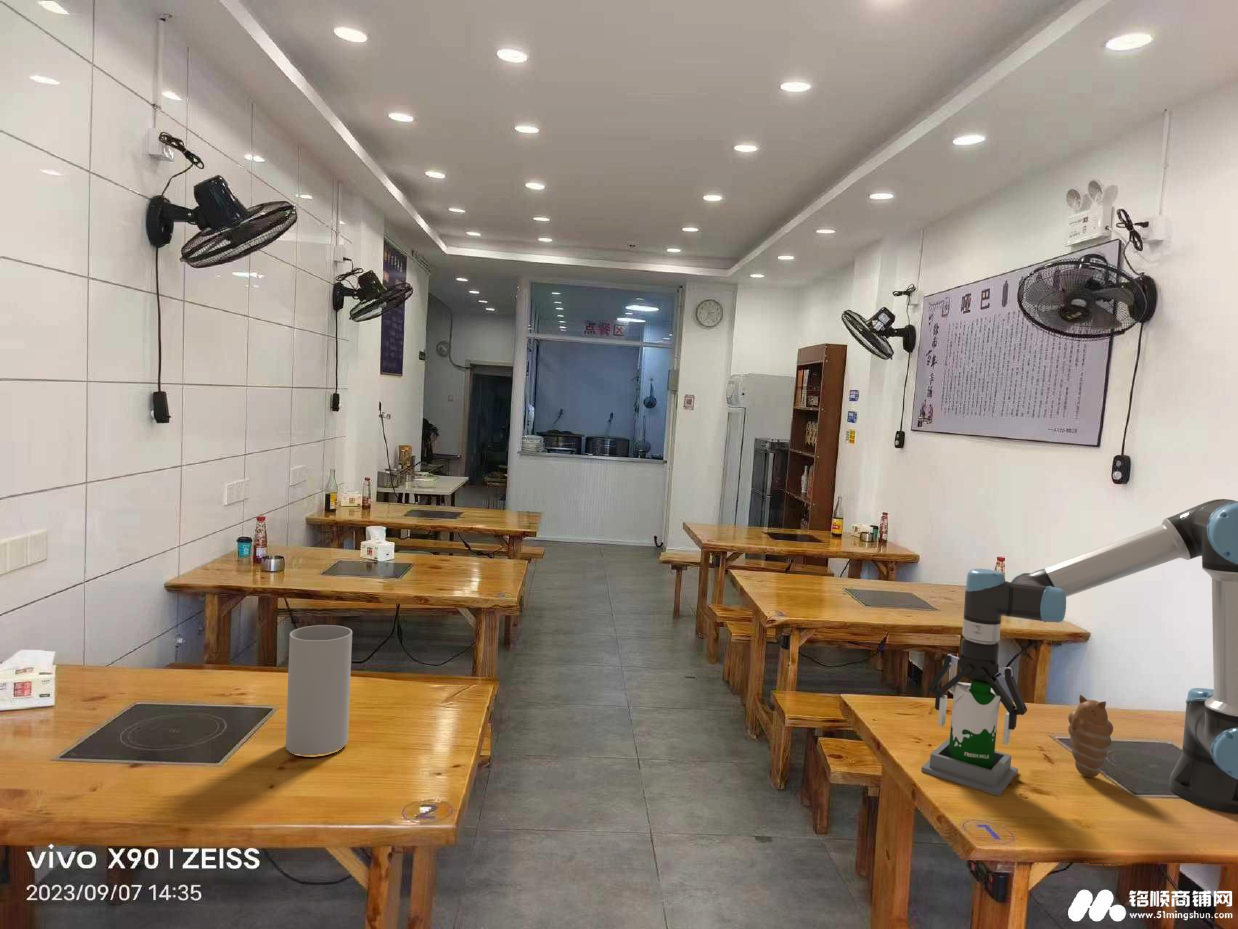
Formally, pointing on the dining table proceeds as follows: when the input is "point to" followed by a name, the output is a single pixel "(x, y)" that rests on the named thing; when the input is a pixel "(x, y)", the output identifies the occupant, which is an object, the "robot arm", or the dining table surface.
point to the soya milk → (974, 724)
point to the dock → (971, 770)
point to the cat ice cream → (1089, 736)
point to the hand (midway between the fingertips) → (973, 733)
